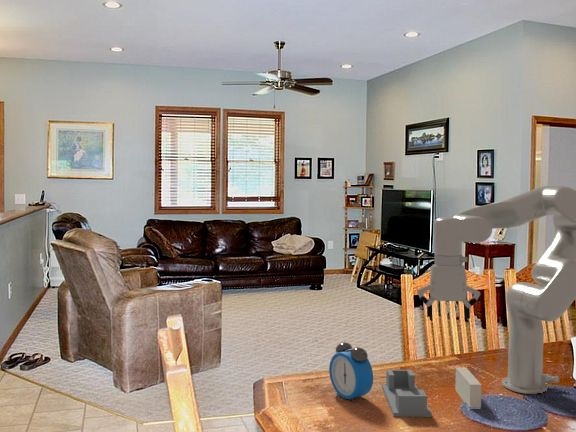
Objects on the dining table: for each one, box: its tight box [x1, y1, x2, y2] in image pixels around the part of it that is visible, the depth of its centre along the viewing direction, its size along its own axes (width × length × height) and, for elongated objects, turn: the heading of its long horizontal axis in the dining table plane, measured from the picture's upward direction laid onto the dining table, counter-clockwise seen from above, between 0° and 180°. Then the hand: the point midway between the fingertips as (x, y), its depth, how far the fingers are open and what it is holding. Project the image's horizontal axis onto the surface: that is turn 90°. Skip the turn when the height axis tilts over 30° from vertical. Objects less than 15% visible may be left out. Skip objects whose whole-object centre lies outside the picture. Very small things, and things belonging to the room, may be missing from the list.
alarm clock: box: [328, 341, 374, 403], centre depth 158 cm, size 13×6×15 cm, turn 34°
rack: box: [381, 369, 433, 418], centre depth 155 cm, size 10×21×6 cm, turn 179°
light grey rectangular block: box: [454, 366, 482, 408], centre depth 156 cm, size 3×14×7 cm, turn 179°
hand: (448, 320), depth 158 cm, fingers open, 9 cm apart
